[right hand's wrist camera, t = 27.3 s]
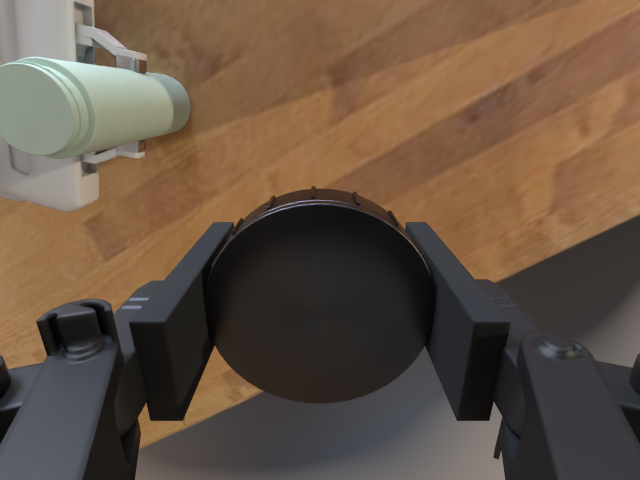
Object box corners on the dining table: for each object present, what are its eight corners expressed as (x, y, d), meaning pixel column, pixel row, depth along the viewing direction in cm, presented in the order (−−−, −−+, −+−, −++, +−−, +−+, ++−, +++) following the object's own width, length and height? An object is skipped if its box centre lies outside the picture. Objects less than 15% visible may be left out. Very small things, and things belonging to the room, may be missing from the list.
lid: (176, 238, 11) (154, 261, 10) (378, 147, 10) (389, 156, 9) (274, 391, 13) (268, 430, 12) (448, 328, 12) (466, 362, 11)
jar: (153, 60, 35) (-1, 28, 18) (201, 100, 37) (99, 104, 20) (124, 108, 37) (-42, 117, 20) (172, 144, 38) (54, 183, 21)
